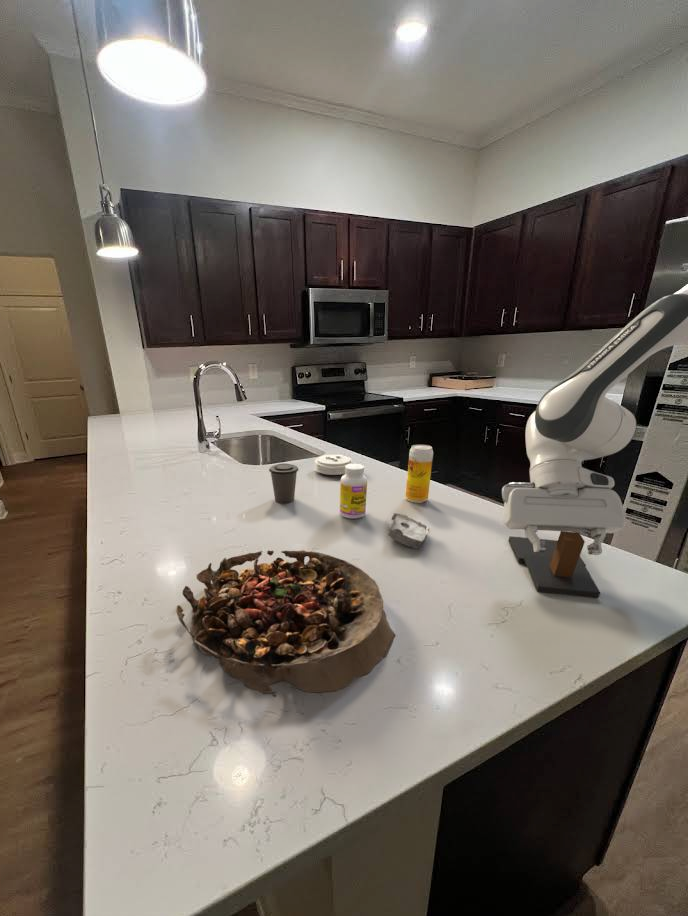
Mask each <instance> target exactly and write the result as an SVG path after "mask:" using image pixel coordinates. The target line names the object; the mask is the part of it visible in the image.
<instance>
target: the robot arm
mask: <svg viewBox="0 0 688 916" xmlns="http://www.w3.org/2000/svg"><path fill="white" fill-rule="evenodd" d="M680 345H688V283H687V284H686V285H684V286H683V287H682V288H680V289H679V290H678V291H676V292H674V293H673V294H668V295H666V296H662V297H661V298H659V299H658V300H656V301H654V302H653V303H651V304H650V305H649V306H648V307H646V308H645V309H644V310H642V311H641V312H640V313H639V314H638V315H636V316H635V317H634V318H633V319H632V320H630V321H629V322H628V323H627V324H626V325H624V327H623V328H622V329H620V330H618V332H617V333H616V334H615V335H614V336H613V337H611V339H609V340H608V341H607V342H606V343H605V344H604V345H603V346H601V348H599V349H598V350H597V351H596V352H595V353H594V354H592V356H591V357H589V358H588V359H587V360H586V361H585V362H584V363H583V364H581V366H579V367H578V368H577V369H576V370H574V371H573V372H572V373H570V374H569V375H568V376H566V377H565V378H563V379H562V380H561V381H559V382H558V383H556V384H554V385H553V386H552V387H551V388H549V389H548V390H547V391H546V392H545V393H544V394H543V395H542V397H541V398H540V399H539V401H538V403H537V406H536V408H535V410H534V411H533V412H532V413H531V414H530V416H529V417H528V419H527V421H526V424H525V432H524V433H525V436H524V437H525V448H526V456H527V458H528V461H529V464H530V467H529V471H528V472H529V482H515V481H511V482H508V483H507V484H505V485H504V486H502V488H501V499H502V501H503V503H504V505H503V524H504V526H505V527H506V528H507V529H509V530H524V534H525V536H526V538H528V539H529V540H530V541H531V543H533V549H534V552H544V551H546V546H545V545H546V543H545V541H541V540H540V539H541V538H540V537H539V536H538V535H537V532H538V531H545V532H546V531H549V532H561V531H565V532H579V533H590V536H591V538H594V539H593V541H592V543H589V544H588V545H586V548H587V553H588V555H589V556H599V555H601V554H603V548H602V543H603V542H604V540H605V538H606V536H607V534H614V533H616V532H619V531H620V530H622V529H624V527H625V526H626V524H627V516H626V513H625V512H626V511H625V509H624V506H623V505H624V504H623V503H622V500H621V497H620V496H619V494H618V493H617V492H616V491H615V490H613V488H614V486H615V484H616V483H615V480H614V478H613V477H612V476H610V475H607V474H606V475H605V474H602V473H599V472H596V471H594V470H590V469H588V468H585V467H583V465H582V462H584V461H593V460H597V459H601V458H604V457H608V456H612V455H614V454H617V453H619V452H621V451H622V450H623V449H625V448H626V447H627V446H628V445H629V444H630V443H631V441H632V440H633V438H634V437H635V434H636V431H637V427H638V425H637V424H638V423H637V418H636V416H635V414H634V413H633V412H632V411H630V410H629V409H627V408H626V407H624V406H622V405H621V404H619V403H618V402H616V401H615V400H611V399H610V398H609V397H607V396H606V395H607V394H608V392H609V391H611V389H612V388H614V387H615V386H616V385H618V384H619V382H621V381H622V380H623V379H625V377H627V376H628V375H630V373H632V372H633V371H634V370H635V369H636V368H638V367H639V366H640V365H641V364H642V363H644V362H645V361H646V360H647V359H648V358H650V357H651V356H652V355H653V354H655V353H657V352H659V351H661V350H664V349H667V348H669V347H673V346H680Z"/></svg>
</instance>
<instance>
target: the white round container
mask: <svg viewBox="0 0 688 916" xmlns="http://www.w3.org/2000/svg"><path fill="white" fill-rule="evenodd" d="M314 464H315V466H314V470H315V471H316V472H317V473H320V474H323V475H328V476H329V475H331V476H333V475H334V476H337V475H345V474H346V472H345V466H346V465H348V464H354V460H353V459H351V458H350V457H349V456H347V455H343V454H325V455H321V456H318V457H317V458H316V459H315V460H314Z"/></svg>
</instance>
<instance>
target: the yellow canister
mask: <svg viewBox="0 0 688 916" xmlns="http://www.w3.org/2000/svg"><path fill="white" fill-rule="evenodd" d="M433 459H434V451H433V447H432V446H431V445H429V444H413V445H411V448H410V449H409V453H408V463H407V464H408V465H407V475H406V486H405V498H406V499H407V501H408V502H410V503H415V504H423V503H425V502H426V501H427V500H428V498H429V493H430V483H431V476H432V474H431V473H432V467H433Z"/></svg>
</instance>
